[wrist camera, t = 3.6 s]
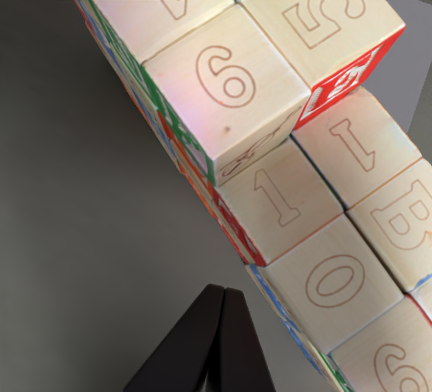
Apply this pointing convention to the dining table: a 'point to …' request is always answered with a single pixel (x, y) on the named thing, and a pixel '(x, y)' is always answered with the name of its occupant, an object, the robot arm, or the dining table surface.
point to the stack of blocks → (295, 165)
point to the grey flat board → (404, 63)
